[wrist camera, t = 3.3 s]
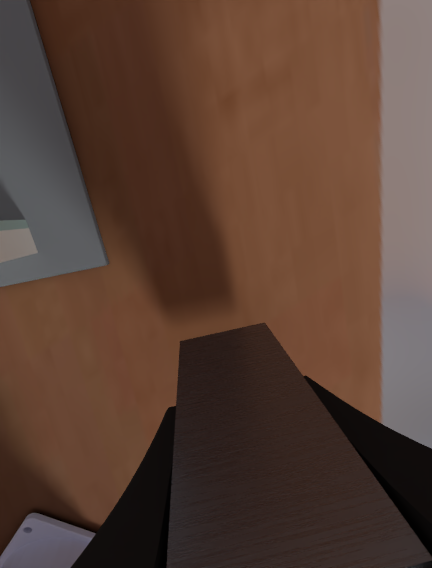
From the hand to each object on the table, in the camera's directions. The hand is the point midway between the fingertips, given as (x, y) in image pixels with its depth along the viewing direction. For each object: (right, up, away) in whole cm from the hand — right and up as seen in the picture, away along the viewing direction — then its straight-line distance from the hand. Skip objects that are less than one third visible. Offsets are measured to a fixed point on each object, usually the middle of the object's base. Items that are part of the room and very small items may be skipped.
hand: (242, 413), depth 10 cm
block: (0, +1, +3) cm, 3 cm away
